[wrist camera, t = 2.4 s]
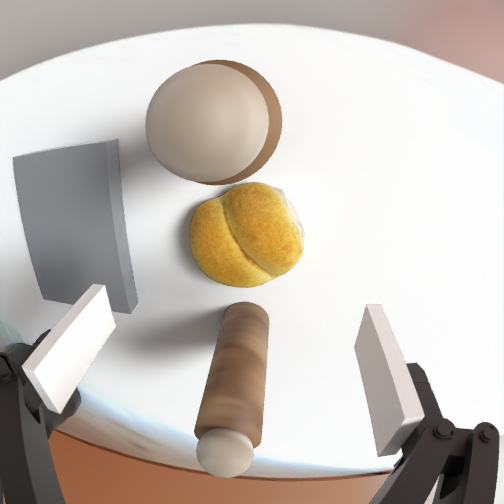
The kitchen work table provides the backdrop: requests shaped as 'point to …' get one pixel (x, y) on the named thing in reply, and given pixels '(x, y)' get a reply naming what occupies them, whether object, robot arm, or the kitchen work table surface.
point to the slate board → (76, 222)
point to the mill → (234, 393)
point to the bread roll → (246, 235)
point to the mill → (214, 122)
